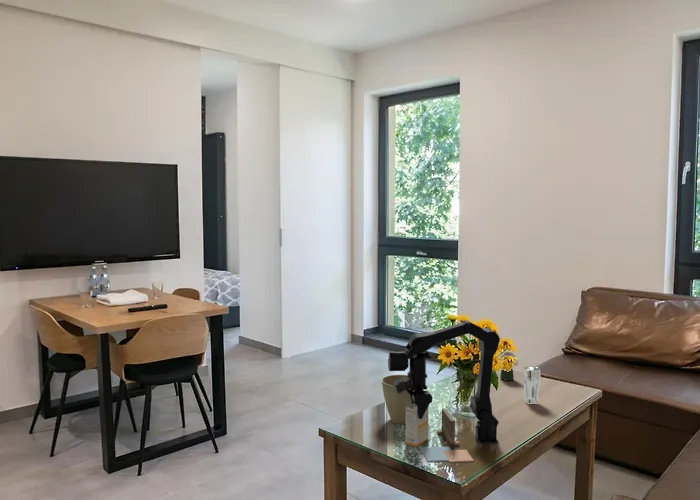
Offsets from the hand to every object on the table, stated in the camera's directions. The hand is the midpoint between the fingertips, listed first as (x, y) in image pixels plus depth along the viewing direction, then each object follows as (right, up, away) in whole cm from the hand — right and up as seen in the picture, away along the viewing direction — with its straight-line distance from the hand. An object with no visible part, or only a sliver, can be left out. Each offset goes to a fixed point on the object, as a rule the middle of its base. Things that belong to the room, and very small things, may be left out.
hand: (417, 413), depth 193 cm
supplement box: (0, -10, +1) cm, 10 cm away
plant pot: (-4, -9, +20) cm, 23 cm away
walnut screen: (+11, -10, +3) cm, 15 cm away
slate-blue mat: (+6, -11, -10) cm, 16 cm away
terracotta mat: (+12, -11, -11) cm, 20 cm away
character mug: (+52, -5, +72) cm, 89 cm away
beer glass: (+53, -8, +40) cm, 67 cm away
